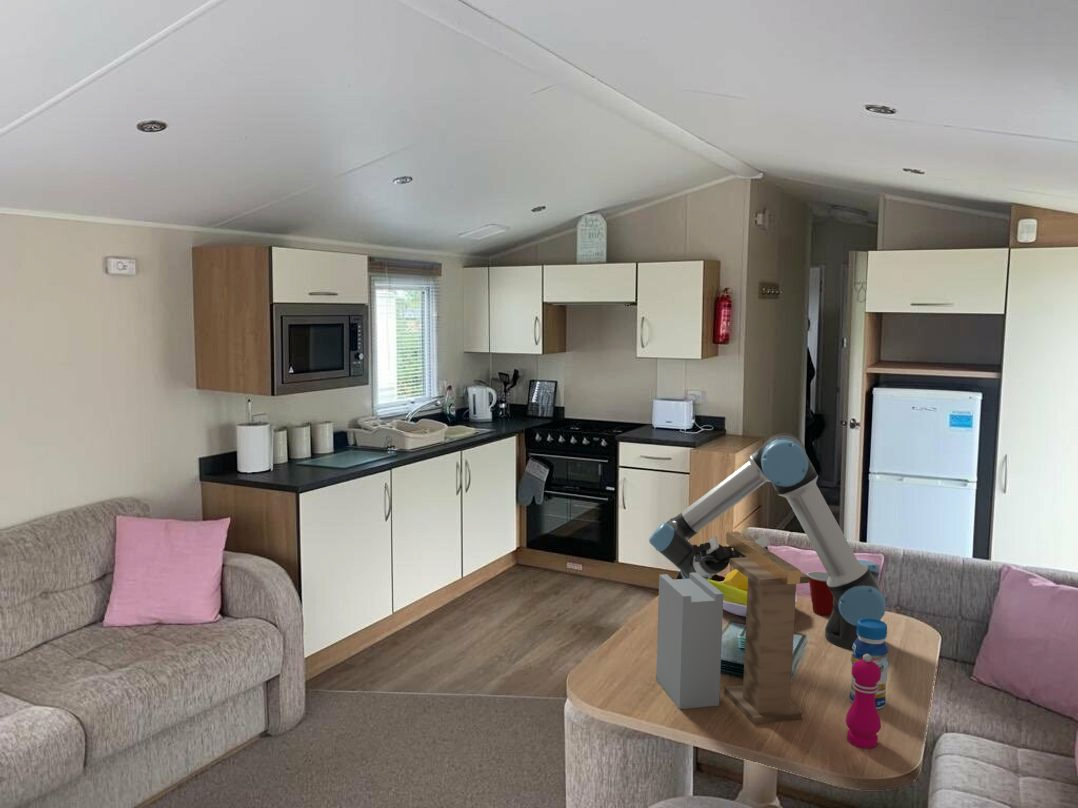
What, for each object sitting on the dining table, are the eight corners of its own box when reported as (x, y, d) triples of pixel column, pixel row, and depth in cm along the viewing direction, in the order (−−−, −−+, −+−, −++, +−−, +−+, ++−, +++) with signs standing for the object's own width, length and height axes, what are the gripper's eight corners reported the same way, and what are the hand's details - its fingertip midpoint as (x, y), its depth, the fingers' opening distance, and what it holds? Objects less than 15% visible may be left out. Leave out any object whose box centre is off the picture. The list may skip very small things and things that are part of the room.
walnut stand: (724, 692, 214) (729, 558, 210) (769, 688, 217) (775, 555, 212) (753, 724, 198) (760, 579, 194) (801, 719, 201) (809, 576, 197)
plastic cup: (845, 610, 271) (847, 573, 270) (836, 621, 262) (839, 582, 261) (810, 603, 277) (812, 567, 275) (800, 614, 268) (802, 576, 266)
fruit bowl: (795, 600, 280) (796, 566, 278) (796, 631, 254) (798, 594, 252) (706, 591, 287) (707, 558, 286) (698, 621, 261) (700, 584, 260)
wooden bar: (726, 543, 222) (726, 531, 222) (737, 542, 223) (737, 531, 223) (787, 584, 191) (788, 571, 191) (799, 583, 192) (800, 570, 192)
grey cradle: (656, 679, 221) (659, 574, 217) (693, 676, 223) (697, 572, 219) (679, 709, 205) (683, 596, 202) (719, 705, 207) (723, 593, 204)
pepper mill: (884, 750, 188) (890, 661, 185) (850, 749, 188) (856, 660, 185) (872, 733, 195) (878, 647, 192) (840, 732, 195) (845, 647, 193)
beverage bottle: (889, 700, 211) (895, 621, 208) (881, 714, 204) (886, 632, 201) (853, 691, 216) (858, 613, 213) (844, 704, 209) (849, 624, 206)
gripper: (757, 571, 236) (791, 552, 217) (669, 576, 231) (697, 558, 212) (751, 544, 239) (785, 523, 220) (665, 548, 234) (692, 528, 215)
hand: (742, 540), depth 216 cm, fingers open, 13 cm apart
